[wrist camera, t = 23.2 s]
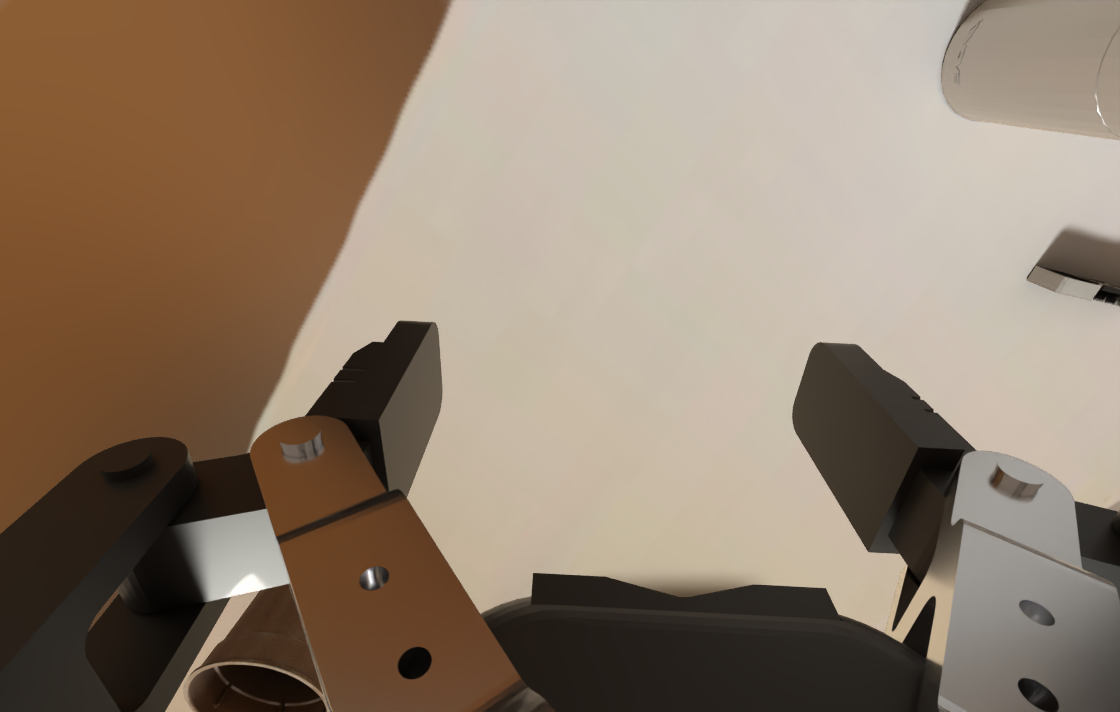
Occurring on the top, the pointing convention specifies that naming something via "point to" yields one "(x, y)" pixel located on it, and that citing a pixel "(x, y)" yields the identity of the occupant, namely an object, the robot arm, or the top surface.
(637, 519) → the top surface
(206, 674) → the plant pot
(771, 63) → the top surface
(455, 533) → the top surface
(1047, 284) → the graphics card
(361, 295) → the top surface
